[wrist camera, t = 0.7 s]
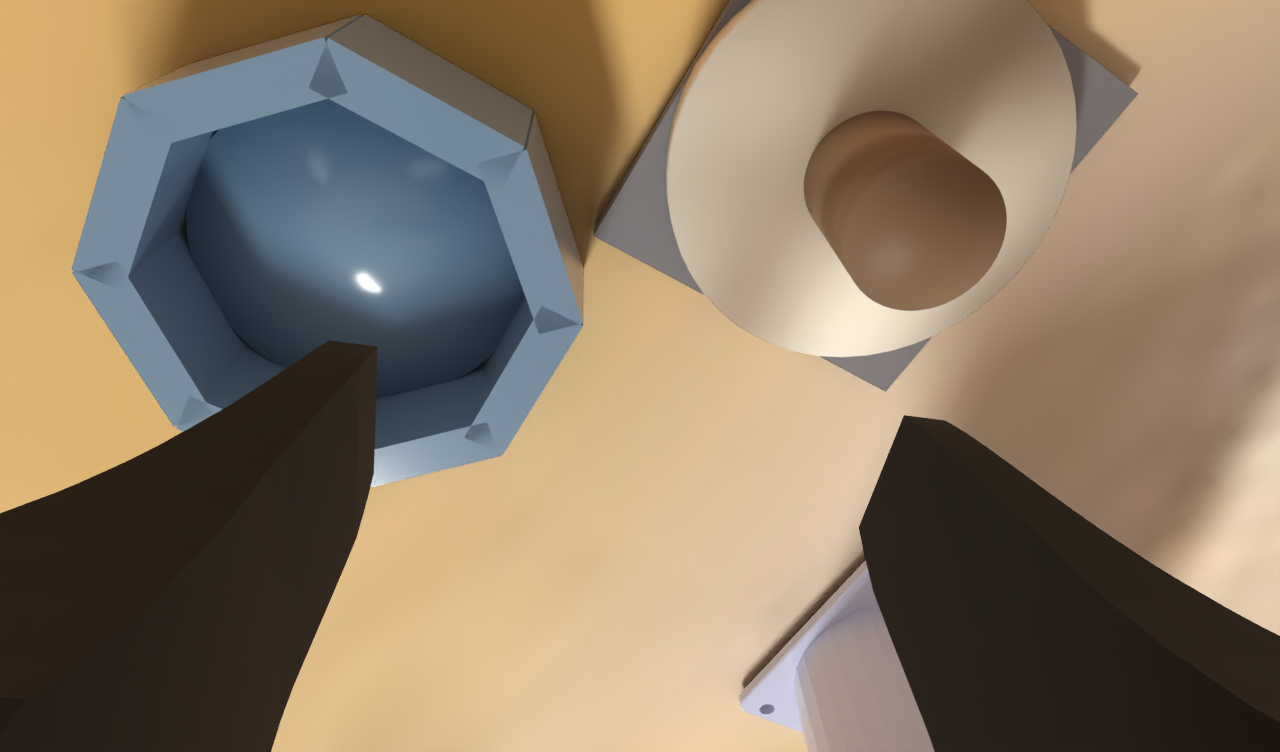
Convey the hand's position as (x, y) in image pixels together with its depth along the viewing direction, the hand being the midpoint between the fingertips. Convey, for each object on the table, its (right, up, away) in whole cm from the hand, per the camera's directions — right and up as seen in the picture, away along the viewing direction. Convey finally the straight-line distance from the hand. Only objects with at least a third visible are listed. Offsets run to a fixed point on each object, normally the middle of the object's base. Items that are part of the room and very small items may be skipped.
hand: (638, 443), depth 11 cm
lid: (+5, +6, +8) cm, 11 cm away
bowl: (-7, +4, +9) cm, 12 cm away
